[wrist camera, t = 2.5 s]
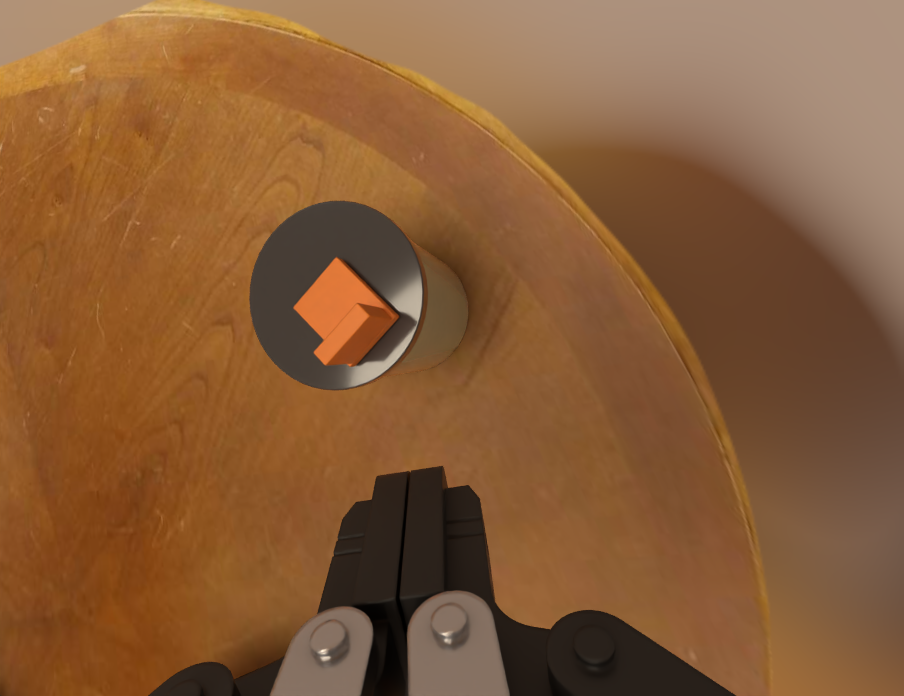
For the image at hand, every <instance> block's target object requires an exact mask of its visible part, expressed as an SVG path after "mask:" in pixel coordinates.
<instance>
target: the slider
mask: <svg viewBox="0 0 904 696" xmlns="http://www.w3.org/2000/svg"><path fill="white" fill-rule="evenodd" d="M293 308H294V309H295V310H296V311H297V312H298V313H299V314H300V315H301V316H302V318H303V319H304V320H305V321H306V322H307V323H308V324H309V325H310V326H311V327H312V328H313V329H314V330H315V331H316V332H317V333H318V334H319V335H320V336H321V337H322V338H323V340H324V341H323V342H322V343H321V344H320V345H319V346H318V348H317V349H316V350H315V351H314V354H315V355H316V356H317V357H318V358H319V359H320V360H321V362H322V363H323V364H324V365H340V364H347V365H348V366H349V367H354V366H356V365H357V364H358V363H359V361H360V360H361V359H362V358H363V357H364V356H365V355H366V354H367V353H368V351H369V350H370V349H371V348H372V347H373V346H374V345H375V344H376V343H377V341H378V340H379V339H380V338H381V337H382V336H383V335H384V334H385V333H386V331H387V330H388V329H389V328H390V327H391V326H392V325H393V324H394V323H395V321H396V320H397V319H398V318H399V315H398V314H397V313H396V312H395V311H394V310H393V309H392V308H391V307H390V306H389V305H388V304H387V303H386V302H385V301H384V300H383V299H382V298H381V297H380V296H379V295H378V294H377V293H376V292H375V291H374V290H373V289H372V288H370V287H369V286H368V285H367V284H366V283H365V282H364V281H363V280H362V279H361V278H360V277H359V276H358V275H357V274H356V273H355V272H354V271H353V270H352V269H351V268H350V267H349V266H348V265H347V264H346V263H345V262H344V261H343V260H342V259H340V258H338V257H336V258H335V259H334V260H333V261H332V262H331V264H330V265H329V266H328V267H327V268H326V270H325V271H324V272H323V273H322V274H321V275H320V277H319V278H318V279H317V280H316V281H315V282H314V284H313V285H312V286H311V287H310V288H309V290H308V291H307V292H306V293H305V294H304V295H303V297H302V298H301V299H300V300H299V301H298V302H297V304H296V305H295V306H294V307H293Z"/></svg>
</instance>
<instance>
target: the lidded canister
mask: <svg viewBox="0 0 904 696" xmlns="http://www.w3.org/2000/svg"><path fill="white" fill-rule="evenodd" d="M336 257H338V258H340V259H342V260H343V261H344V262H345V263H346V264H347V265H348V266H349V267H350V268H351V269H352V270H353V271H354V272H355V273H356V274H357V275H358V276H359V277H360V278H361V279H362V280H363V281H364V282H365V283H366V284H367V285H368V286H369V287H370V288H372V289H373V290H374V291H375V292H376V293H377V294H378V295H379V296H380V297H381V298H382V299H383V300H384V301H385V302H386V303H387V304H388V305H389V306H390V307H391V308H392V309H393V310H394V311H395V312H396V313H397V314H398V315H399V318H398V319H397V320H396V321H395V323H394V324H393V325H392V326H391V327H390V328H389V329H388V330H387V331H386V333H385V334H384V335H383V336H382V337H381V338H380V339H379V340H378V341H377V343H376V344H375V345H374V346H373V347H372V348H371V349H370V350H369V351H368V353H367V354H366V355H365V356H364V357H363V358H362V359H361V360H360V361H359V363H358V364H357V365H356V366H354V367H349V366H348V365H347V364H340V365H324V364H323V363H322V362H321V360H320V359H319V358H318V357H317V356H316V355H315V354H314V351H315V350H316V349H317V348H318V346H319V345H320V344H321V343H322V342H323V341H324V340H323V338H322V337H321V336H320V335H319V334H318V333H317V332H316V331H315V330H314V329H313V328H312V327H311V326H310V325H309V324H308V323H307V322H306V321H305V320H304V319H303V318H302V316H301V315H300V314H299V313H298V312H297V311H296V310H295V309H294V308H293V307H294V306H295V305H296V304H297V302H298V301H299V300H300V299H301V298H302V297H303V295H304V294H305V293H306V292H307V291H308V290H309V288H310V287H311V286H312V285H313V284H314V282H315V281H316V280H317V279H318V278H319V277H320V275H321V274H322V273H323V272H324V271H325V270H326V268H327V267H328V266H329V265H330V264H331V262H332V261H333V260H334V259H335V258H336ZM249 300H250V312H251V317H252V322H253V325H254V329H255V332H256V335H257V337H258V339H259V341H260V343H261V345H262V347H263V348H264V350H265V352H266V353H267V355H268V356H269V357H270V358H271V360H272V361H273V362H274V363H275V364H276V365H277V366H278V367H279V368H280V369H281V370H282V371H283V372H285V373H286V374H287V375H289V376H290V377H291V378H293V379H295V380H297V381H299V382H301V383H303V384H305V385H308V386H311V387H314V388H319V389H323V390H347V389H352V388H357V387H361V386H365V385H367V384H370V383H373V382H375V381H377V380H379V379H381V378H383V377H388V376H394V375H400V374H407V373H413V372H419V371H424V370H427V369H430V368H433V367H435V366H436V365H438V364H440V363H441V362H443V361H444V360H446V359H447V358H448V357H449V356H450V355H451V354H452V353H453V352H454V351H455V349H456V348H457V347H458V345H459V343H460V342H461V340H462V338H463V335H464V333H465V330H466V327H467V321H468V301H467V297H466V293H465V290H464V287H463V285H462V283H461V281H460V279H459V278H458V277H457V275H456V274H455V273H454V271H453V270H452V269H451V268H450V267H449V266H447V265H446V264H445V263H444V262H442V261H441V260H439V259H438V258H436V257H435V256H433V255H432V254H430V253H429V252H427V251H426V250H424V249H423V248H421V247H420V246H418V245H417V244H415V243H414V242H412V241H411V239H410V238H409V236H408V235H407V234H406V233H405V232H404V231H403V230H402V229H401V227H400V226H398V225H397V224H396V223H395V222H394V221H392V220H391V219H390V218H388V217H387V216H385V215H384V214H382V213H381V212H379V211H377V210H376V209H373V208H371V207H369V206H366V205H363V204H359V203H356V202H349V201H329V202H323V203H318V204H315V205H312V206H309V207H307V208H304V209H302V210H300V211H298V212H297V213H295V214H293V215H292V216H290V217H289V218H288V219H286V220H285V221H284V222H283V223H282V224H280V225H279V227H278V228H277V229H276V230H275V231H274V232H273V233H272V234H271V236H270V237H269V238H268V240H267V241H266V243H265V244H264V246H263V248H262V250H261V252H260V253H259V256H258V258H257V261H256V263H255V266H254V270H253V273H252V278H251V284H250V299H249Z"/></svg>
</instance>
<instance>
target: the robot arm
mask: <svg viewBox="0 0 904 696" xmlns="http://www.w3.org/2000/svg"><path fill="white" fill-rule="evenodd" d="M149 696H736V695H734V694H733V693H731V692H730V691H728V690H727V689H725V688H724V687H722V686H721V685H719V684H718V683H716V682H714V681H713V680H711V679H710V678H708V677H707V676H705V675H704V674H702V673H701V672H699V671H698V670H696V669H695V668H693V667H692V666H690V665H689V664H687V663H686V662H684V661H683V660H681V659H680V658H678V657H677V656H675V655H674V654H672V653H671V652H669V651H668V650H666V649H665V648H663V647H662V646H660V645H659V644H657V643H656V642H654V641H653V640H651V639H650V638H648V637H647V636H645V635H643V634H642V633H640V632H639V631H637V630H636V629H634V628H633V627H631V626H630V625H628V624H627V623H625V622H624V621H622V620H621V619H619V618H617V617H615V616H613V615H611V614H608V613H605V612H601V611H594V610H582V611H577V612H573V613H570V614H568V615H566V616H564V617H562V618H561V619H560V620H559V621H557V622H556V623H555V624H554V626H553V627H552V628H551V630H550V629H544V628H538V627H532V626H528V625H524V624H521V623H519V622H516V621H514V620H513V619H511V618H509V617H508V616H507V615H505V614H504V613H503V612H502V611H501V610H500V609H499V607H498V606H497V604H496V603H495V596H494V589H493V581H492V574H491V566H490V558H489V551H488V545H487V539H486V533H485V527H484V521H483V515H482V509H481V503H480V498H479V497H478V496H477V495H476V494H475V492H474V491H473V490H472V489H471V488H470V486H469V485H466V486H459V487H453V488H448V486H447V481H446V476H445V471H444V468H443V466H439V467H432V468H426V469H419V470H413V471H411V473H410V472H409V471H407V472H400V473H394V474H387V475H380V476H377V477H376V481H375V486H374V491H373V496H372V500H367V501H360V502H356V503H355V504H354V505H353V507H352V508H351V509H350V510H349V512H348V513H347V514H346V515H345V517H344V518H343V519H342V523H341V527H340V531H339V534H338V541H337V542H336V546H335V549H334V557H332V561H331V564H330V568H329V572H328V576H327V579H326V583H325V587H324V590H323V594H322V598H321V602H320V605H319V609H318V613H317V615H315V616H314V617H312V618H311V619H310V620H308V621H307V622H306V623H305V624H304V625H303V626H302V627H301V628H300V629H299V630H298V631H297V632H296V634H295V635H294V637H293V638H292V640H291V642H290V644H289V646H288V649H287V652H286V654H285V656H284V657H282V658H280V659H279V660H277V661H275V662H273V663H271V664H269V665H267V666H264V667H262V668H260V669H257V670H255V671H253V672H251V673H248V674H246V675H244V676H242V677H239V678H237V679H235V680H234V678H233V676H232V674H231V671H230V670H229V669H228V668H227V667H226V666H224V665H223V664H220V663H217V662H204V663H199V664H195V665H193V666H190V667H188V668H186V669H184V670H182V671H180V672H178V673H176V674H175V675H173V676H172V677H170V678H169V679H168V680H167V681H165V682H164V683H163V684H162V685H160V686H159V687H158V688H157V689H156V690H154V691H153V692H152V693H151V694H150V695H149Z"/></svg>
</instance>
